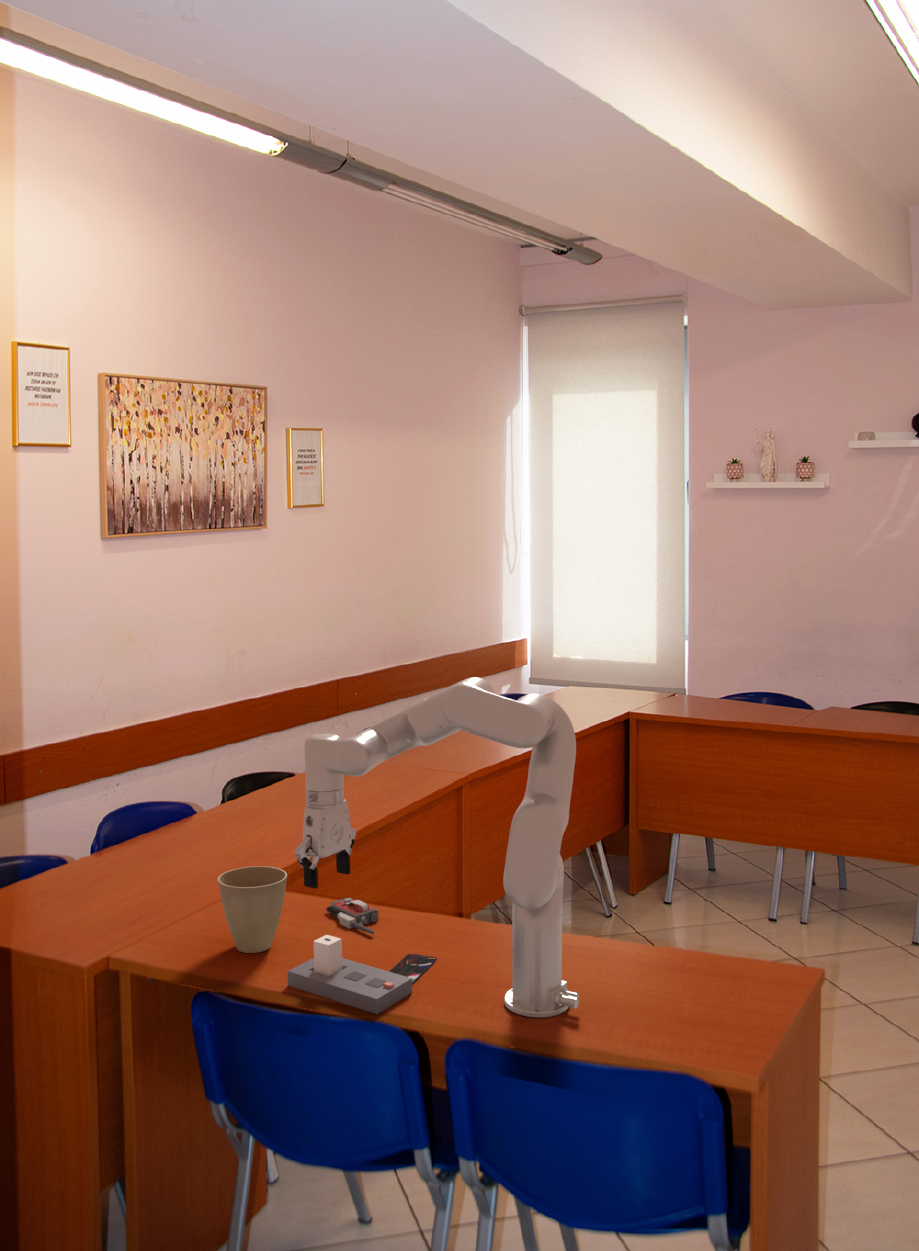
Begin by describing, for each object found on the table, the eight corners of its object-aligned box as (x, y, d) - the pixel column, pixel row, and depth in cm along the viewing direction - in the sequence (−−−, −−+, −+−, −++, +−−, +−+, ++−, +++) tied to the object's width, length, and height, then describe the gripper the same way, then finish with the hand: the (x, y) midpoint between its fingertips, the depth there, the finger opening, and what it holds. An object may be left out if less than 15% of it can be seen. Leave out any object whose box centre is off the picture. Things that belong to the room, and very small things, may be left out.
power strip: (412, 992, 208) (411, 975, 207) (377, 1014, 198) (376, 995, 198) (324, 966, 220) (324, 949, 220) (287, 985, 211) (287, 968, 211)
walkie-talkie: (318, 916, 250) (369, 940, 235) (318, 898, 250) (369, 921, 235) (348, 907, 256) (400, 929, 241) (348, 889, 256) (400, 911, 241)
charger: (342, 981, 213) (341, 937, 212) (329, 988, 210) (328, 944, 209) (327, 976, 215) (326, 933, 214) (314, 984, 212) (313, 940, 211)
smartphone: (439, 957, 224) (410, 985, 210) (439, 960, 224) (411, 988, 210) (408, 952, 227) (378, 980, 213) (408, 955, 227) (378, 983, 213)
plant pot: (297, 952, 228) (295, 880, 226) (229, 965, 221) (227, 891, 220) (277, 929, 241) (276, 861, 240) (212, 940, 235) (210, 871, 233)
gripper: (309, 808, 200) (312, 896, 201) (367, 789, 214) (369, 871, 216) (280, 803, 204) (283, 889, 205) (339, 785, 218) (341, 865, 220)
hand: (327, 879), depth 210 cm, fingers open, 9 cm apart
